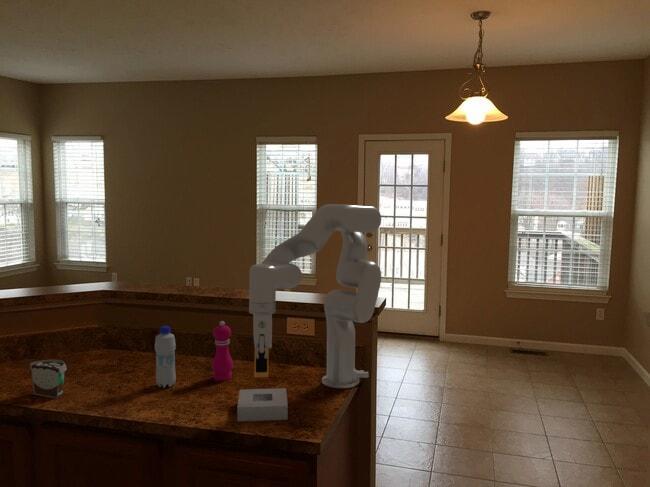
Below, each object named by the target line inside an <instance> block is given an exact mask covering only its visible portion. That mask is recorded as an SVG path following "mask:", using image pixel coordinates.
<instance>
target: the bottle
mask: <svg viewBox="0 0 650 487" xmlns="http://www.w3.org/2000/svg"><path fill="white" fill-rule="evenodd" d="M175 350H176V338H175V335H174V334H173V333H171V327H170V326H168V325H162V326H161V327H160V328H159V334H157V335H156V336H155V341H154V351H155V366H156V367H155V369H156V370H155V382H156V385H157V386H158V387H159V388H163V389H164V388H165V389H166V387H167V385H168V387H169V388H171V387H172V386H174V385H175V384H176V377H177V375H176V358H175V357H176V355H175V354H176V353H175Z"/></svg>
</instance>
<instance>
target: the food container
mask: <svg viewBox="0 0 650 487" xmlns="http://www.w3.org/2000/svg"><path fill="white" fill-rule="evenodd" d="M29 370H31V378H32V388H33V395H34V396H35V395H36V396H41V397H46V398H54V399H60V398H61V397H62V396H63V395H64V385H65V383H64V382H65V372H66V371H67V365H66V363H65V361H64V360H62V359H61V360H60V359H44V360H38V361H32V362H30V365H29Z"/></svg>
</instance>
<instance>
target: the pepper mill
mask: <svg viewBox="0 0 650 487" xmlns="http://www.w3.org/2000/svg"><path fill="white" fill-rule="evenodd" d="M212 334H213V337H214V338H215V340H214V344H215V346H216V347H215V349H216V350H215V354H214V357H213V360H212V363H211V369H212V370H213V373H212V374H213V376H212V378H213V380H215V381H218V382H220V381H221V382H222V381H223V382H224V381H228V380H231V379H232V377H233V375H232V374H233V373H232V370H233V368H234V362H233V358H232V357H231V354H230V351H229V345H230V343H231V342H230V337H231V336H232V330H231V328H230V327H229V326H228V325H226V322H225V321H223V320H221V321H219V325H218V326H216V327H215V328H214V329H213V333H212Z"/></svg>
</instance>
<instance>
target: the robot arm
mask: <svg viewBox="0 0 650 487" xmlns="http://www.w3.org/2000/svg"><path fill="white" fill-rule="evenodd" d="M381 224H382V215H381V212H380V210H379V209H378V208H376V207H375V206H370V205H355V204H343V203H341V204H339V203H338V204H337V203H336V204H335V203H330V204H329V203H327V204H323V205H321V206H320V207H319V208H318V209H317V211H316V212H315V213H314V214H313V215H312V217H310V218H309V220H308V221H307V223H306V224H305V225H304V226H303V227H302V229H300V231H299V232H298V233H296V234H294V235H293V236H291V237H289V238H288V239H286V240H285V241H283V242H281V243H280V244H278V245H277V246H275V247H274V248H273V249H272V250H271V251H269V253H268V255H267V256H266V257H265V258H264V259H263V261H262V262H261V263H260V264H258V263H257V264H253V265H251V267H250V268H249V287H248V288H249V290H248V291H249V292H248V293H249V294H248V295H249V298H248V300H249V301H248V304H249V305H248V313H249V314H252V315H253V317H252V318H253V320H252V321H253V322H252V323H253V324H252V326H253V329H252V330H253V344H254V349H255V348H256V349H257V358H256V372H267V358H266V352H267V348H269V350H270V349H272V348H273V347H272V346H273V344H272V343H273V315H274V314H276V301H277V300H276V298H277V297H276V295H277V294H276V292H277V289H285V290H287V289H293V288H295V287H298V285H299V284H300V283H301V282H302V278H303V272H302V270H301V269H300V266H298V265H297V264H294V263H292V262H294V261H295V260H297V259H300V258H304V257H307V256H311V255H314V254H316V253H318V252H320V251H321V250H322V248H323V247H324V246H325V245H326V243H327V242H328V240H329V239H330V237H332V236H333V234H334V233H335V232H340V234H341V237H342V248H341V253H340V257H339V261H338V263H337V264H338V265H337V268H336V274H335V278H336V282H337V283H338V284H339V285H341V286H344V287H348V288H351V289H352V288H353V289H356V292H355V291H352V290H346V289H333V290H331V291H329V292H328V293H327V294H326V295H325V297H324V301H323V302H324V303H323V309H324V314H325V320H326V375H324V376H322V377H321V383H322V384H323V385H324V386H325V387H327V388H328V387H329V388H334V389H351V388H354V387H356V386H358V385H359V383H360V378H363V379H364V378H365V379H366V378H369V377H370V375H369V371H364V370H363V369H362V370H361V369H360V370H357V369H356V366H355V365H356V364H355V363H356V329H355V324H354V322H355V323H360V324H364V323H367V322H368V321H370V319H371V318H372V317H373V314H374V312H375V308H376V305H377V304H376V303H377V300H378V295H379V290H380V288H381V287H380V286H381V283H382V271H381V268H380V266H379V265H378V263H376V262H374V261H372V260H371V261H370V260H366V259H367V254H368V248H369V247H368V241H367V239H366V236H365V234H364V233H373V232H375V231H377V230H378V229H379V227H380V226H381ZM258 346H260V348H258ZM264 346H265V348H264ZM259 350H260V351H259ZM264 350H265V351H264Z"/></svg>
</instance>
